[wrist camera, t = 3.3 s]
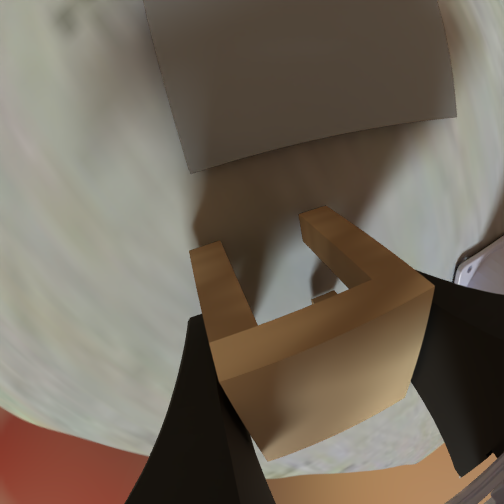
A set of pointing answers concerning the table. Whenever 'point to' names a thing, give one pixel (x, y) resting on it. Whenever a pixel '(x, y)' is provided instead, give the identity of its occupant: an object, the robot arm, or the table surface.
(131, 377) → the table surface
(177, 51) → the plate
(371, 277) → the stool
